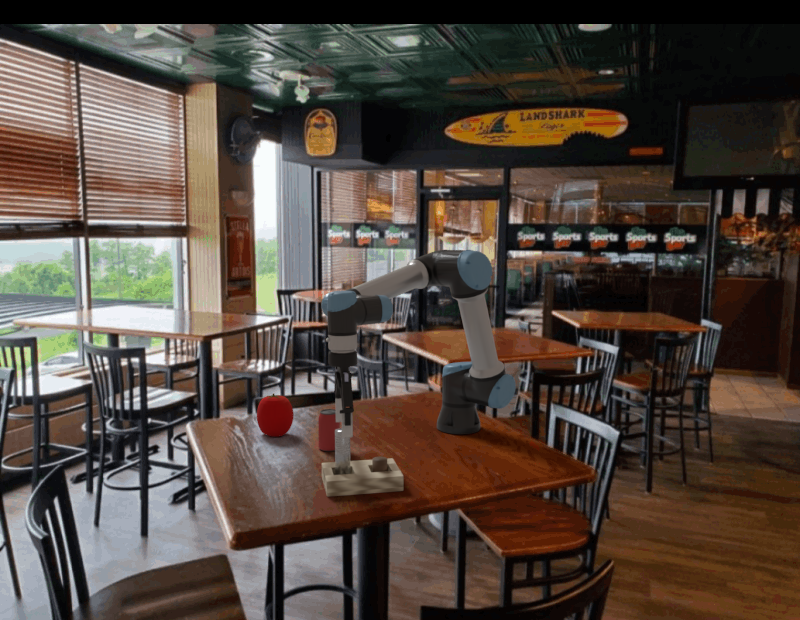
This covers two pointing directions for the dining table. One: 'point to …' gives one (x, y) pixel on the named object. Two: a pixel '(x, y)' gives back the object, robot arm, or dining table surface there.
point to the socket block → (363, 477)
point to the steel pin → (342, 453)
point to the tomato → (275, 415)
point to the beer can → (327, 429)
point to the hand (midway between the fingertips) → (344, 429)
